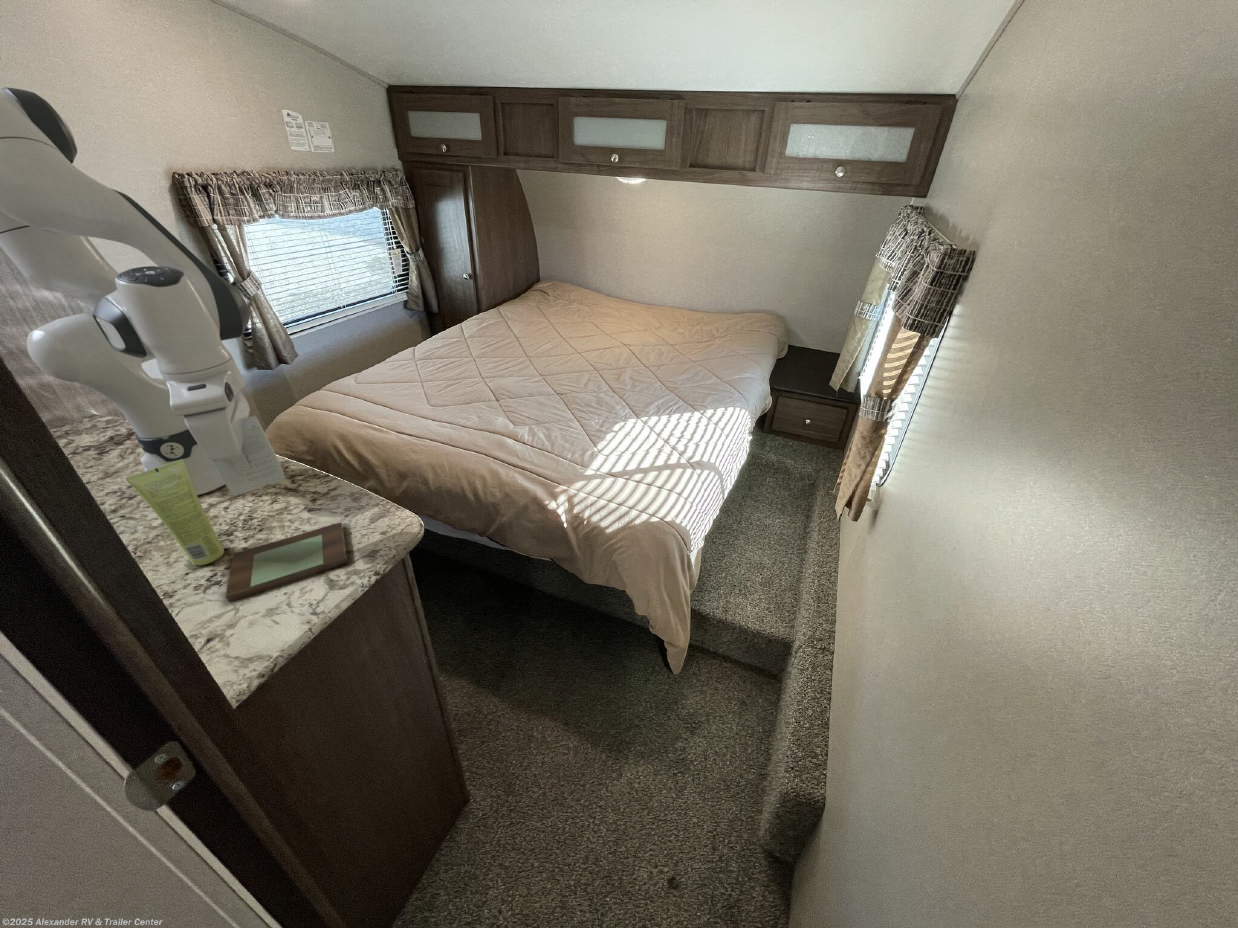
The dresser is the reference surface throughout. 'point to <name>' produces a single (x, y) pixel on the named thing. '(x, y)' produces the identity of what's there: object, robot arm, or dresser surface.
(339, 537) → the walnut board
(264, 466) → the small box
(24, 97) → the robot arm
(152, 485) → the tube
